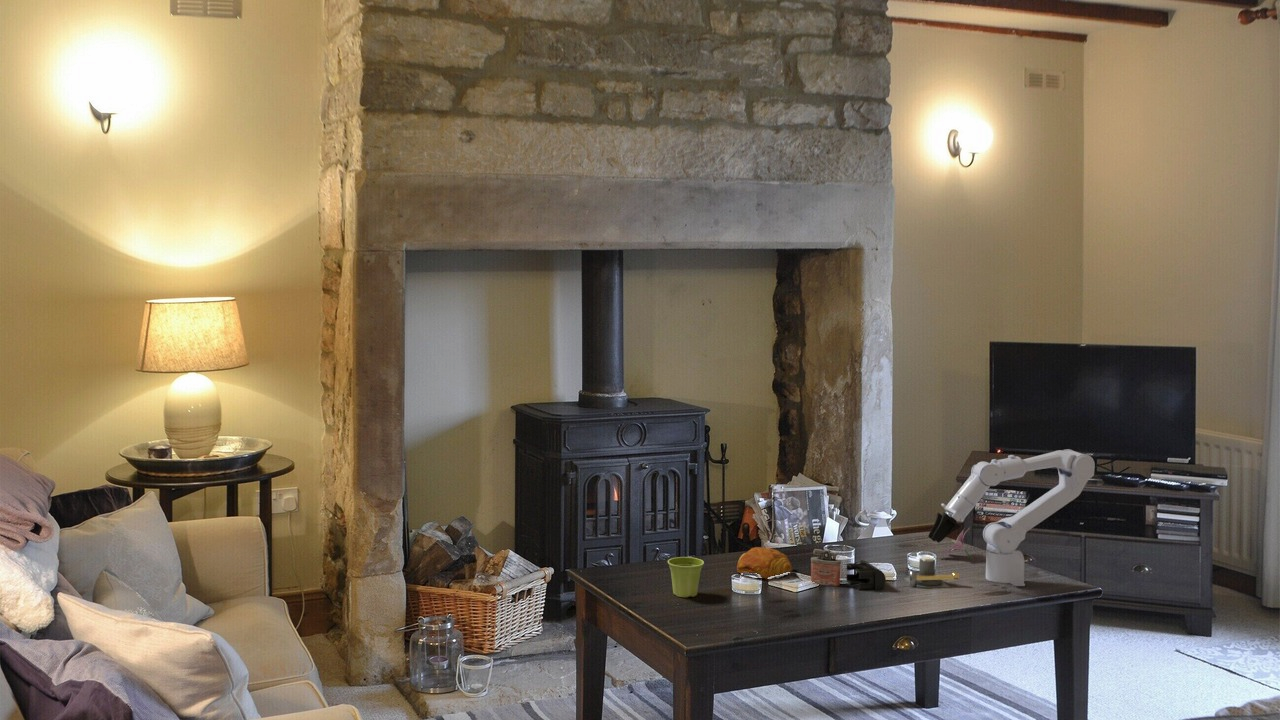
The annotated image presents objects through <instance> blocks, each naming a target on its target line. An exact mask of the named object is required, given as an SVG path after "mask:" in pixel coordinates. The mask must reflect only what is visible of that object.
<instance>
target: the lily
mask: <svg viewBox="0 0 1280 720" xmlns="http://www.w3.org/2000/svg"><path fill="white" fill-rule="evenodd" d="M964 530H965V529H963V530H962V531H961V532H960V533H959V535H957V538H956V539H954V538H953V539H951V540H950V542H952V543H954V544H953V545H952V547H949V548H948V549H947V550H946V551H945V552H944V553H943V555H942V556H941V558H940V559H942V558H943V557H944V555H946V554H947V553H948V554H947V556H949V555H950V554H951V552H952V551H957V550H964V551H965V553H966V554H967V556H968V558H969V560H970V561H972V557H971V556H970V554H969V553H968V551H967V550H966V549H965V547H964V537H965V535H966V533H967V532H968V531H969V530H970V528H967V530H966V531H965V532H964Z"/></svg>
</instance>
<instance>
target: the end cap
mask: <svg viewBox="0 0 1280 720" xmlns="http://www.w3.org/2000/svg"><path fill="white" fill-rule="evenodd" d="M846 571H855V572H856V573H854V574H853V573H851V574H850V573H849V574H846V583H848V584H850V585H854V588H855V589H857V590H858V591H861V590H863V591H864V590H865V591H866V590H874V591H882V590H883V588H884V587H885V586H886V583H887V580H886V578H887V577H886V574H885V573H884V572H883V571H882V569H879V568H877V567H876V566H874V565H873V564H871V563H869V562H868V561H866V560H863V559H860V562H853V563H852V562H851V563H846Z"/></svg>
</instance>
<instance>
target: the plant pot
mask: <svg viewBox="0 0 1280 720" xmlns="http://www.w3.org/2000/svg"><path fill="white" fill-rule="evenodd" d="M667 564H668V565H669V569H670V575H671V576H670V577H671V583H672V584H671V585H672V592H673V593H672V594H673V595H675V596H676V597H678V598H679V597H680V598H689V597H692V598H693V597H696V596H697V595H698V591H699V582H700V577H701V571H702V569H703V566H704V565H705V562H704V560H702V559H701V558H700V559H699V558H696V557H690V556H679V557H678V556H677V557H672V558H670V559H668V560H667Z"/></svg>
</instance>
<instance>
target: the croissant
mask: <svg viewBox="0 0 1280 720" xmlns="http://www.w3.org/2000/svg"><path fill="white" fill-rule="evenodd" d="M792 569H793V566H792V563H791V561H790V559H789V558H788V556H787V555H786V554H784V553H783V552H781V551H779V550H777V549H773V548H767V547H761V546H755V547H752V548H750V549H749V550H748V551H746V552H744V553H743V554H741V556H740V557H739V559H738V561H737V566H736V571H737V572H739V573H745V572H749V573H757V574H760V575H761V577H762V578H768V577H770V576H775V575H780V574H783V573H786V572H791V573H792Z"/></svg>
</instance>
